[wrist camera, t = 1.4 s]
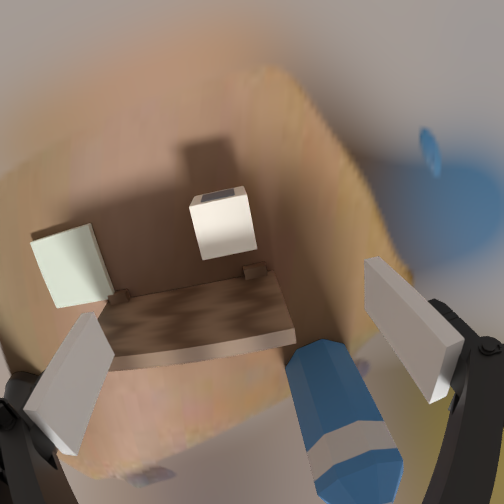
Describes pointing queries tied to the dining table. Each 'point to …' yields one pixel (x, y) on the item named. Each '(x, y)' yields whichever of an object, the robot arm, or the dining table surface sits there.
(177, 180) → the dining table surface
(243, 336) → the walnut screen
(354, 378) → the water bottle
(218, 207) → the white cube
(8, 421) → the robot arm
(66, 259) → the coaster
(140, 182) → the dining table surface
